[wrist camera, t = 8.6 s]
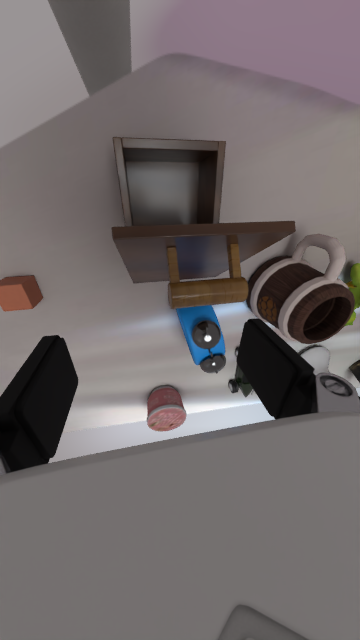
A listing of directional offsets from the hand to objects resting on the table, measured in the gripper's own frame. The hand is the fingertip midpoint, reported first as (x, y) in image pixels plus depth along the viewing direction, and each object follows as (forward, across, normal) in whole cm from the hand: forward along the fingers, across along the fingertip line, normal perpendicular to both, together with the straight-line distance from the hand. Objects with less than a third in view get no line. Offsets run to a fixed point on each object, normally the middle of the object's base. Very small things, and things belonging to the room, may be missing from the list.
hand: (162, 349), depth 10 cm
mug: (+30, -30, +7) cm, 42 cm away
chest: (+29, -4, -5) cm, 30 cm away
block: (+29, +22, +7) cm, 37 cm away
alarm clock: (+30, -10, +14) cm, 35 cm away
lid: (+13, -4, -2) cm, 14 cm away
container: (+30, -3, +42) cm, 52 cm away
